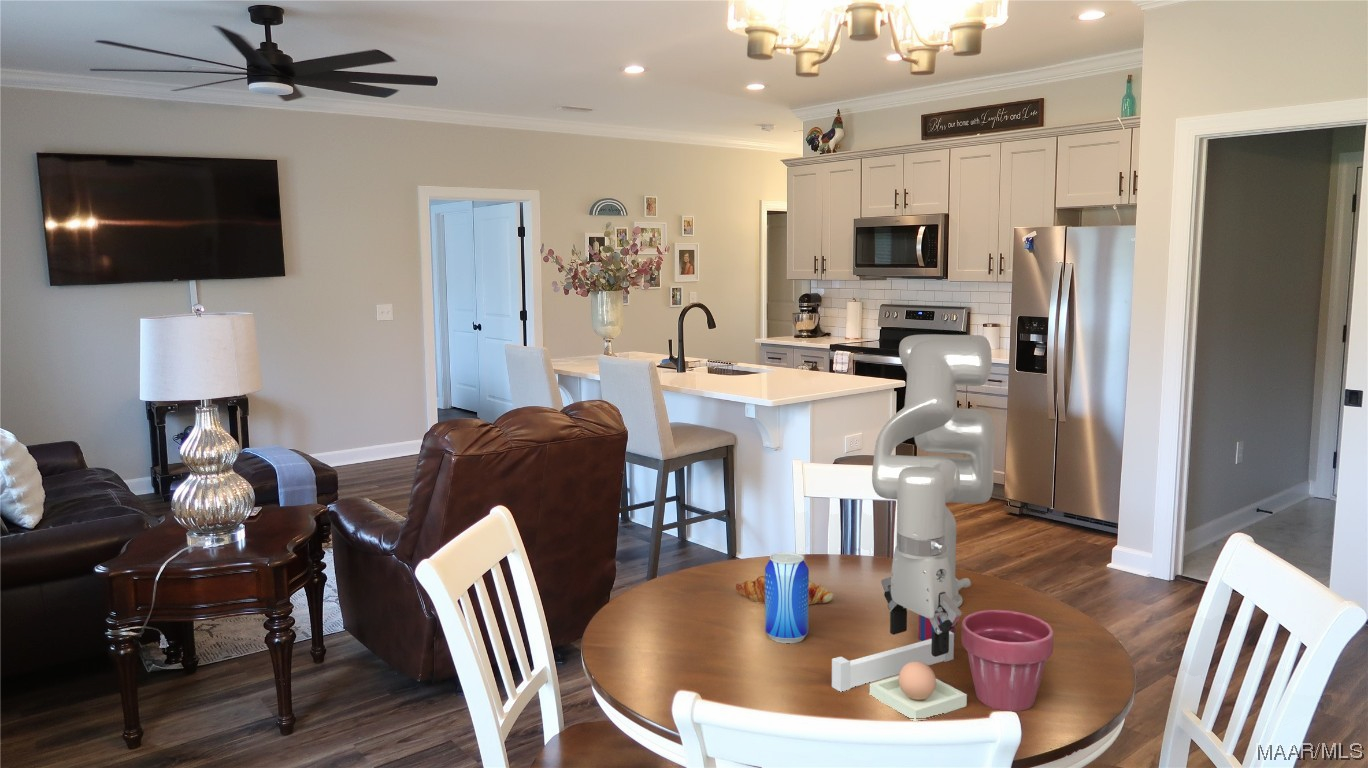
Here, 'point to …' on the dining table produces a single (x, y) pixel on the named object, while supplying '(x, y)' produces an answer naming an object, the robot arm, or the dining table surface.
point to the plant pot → (1006, 656)
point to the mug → (928, 628)
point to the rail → (884, 664)
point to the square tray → (935, 704)
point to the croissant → (757, 591)
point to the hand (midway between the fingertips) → (918, 643)
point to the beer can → (786, 597)
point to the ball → (917, 680)
